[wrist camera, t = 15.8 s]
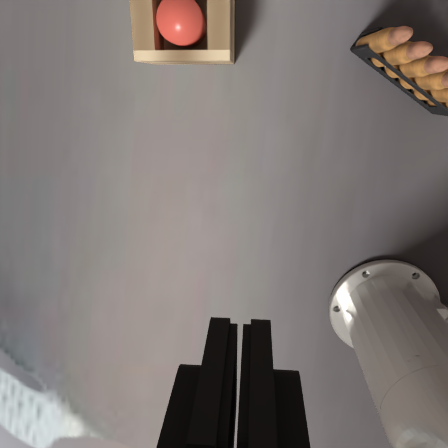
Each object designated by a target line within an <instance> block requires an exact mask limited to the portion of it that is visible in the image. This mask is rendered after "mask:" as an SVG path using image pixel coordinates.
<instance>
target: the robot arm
mask: <svg viewBox="0 0 448 448" xmlns="http://www.w3.org/2000/svg"><path fill="white" fill-rule="evenodd" d="M364 271H365V272H364ZM413 273H414V274H413ZM329 317H330V320H331V324H332V326H333V328H334V331H335V332H336V333H337V335H338V336H339V338H340V339H342V340H343V341H344V342H345V343H346V344H348V345H349V346H351V347H352V348H354V349H355V352H356V354H357V357H358V360H359V363H360V365H361V368H362V371H363V374H364V376H365V379H366V382H367V385H368V387H369V390H370V393H371V396H372V398H373V401H374V404H375V407H376V409H377V412H378V415H379V418H380V420H381V423H382V426H383V428H384V431H385V434H386V436H387V438H388V441H389V443H390V445H391V446H392V448H448V323H447V322H446V321H445V320H446V319H447V318H448V307H446V306H445V305H444V304H442V303H441V302H440V296H439V292H438V290H437V288H436V286H435V284H434V283H433V281H432V280H431V279H430V278H429V277H428V276H427V275H426V274H425V273H424V272H423V271H422V270H421V269H419V268H418V267H416V266H414V265H412V264H409V263H407V262H403V261H398V260H377V261H372V262H369V263H365V264H363V265H361V266H359V267H356V268H354V269H353V270H351V271H350V272H349V273H347V274H346V275H345V276H344V277H343V278H342V279H341V280H340V281H339V282H338V283H337V285H336V286H335V288H334V290H333V292H332V294H331V297H330V301H329ZM236 397H237V324H231V323H230V318H214V317H211V319H210V324H209V329H208V334H207V339H206V344H205V349H204V355H203V360H202V365H186V364H180V366H179V368H178V371H177V374H176V378H175V382H174V385H173V389H172V393H171V396H170V400H169V404H168V407H167V411H166V415H165V418H164V422H163V426H162V429H161V433H160V437H159V440H158V444H157V448H234V434H235V419H236ZM237 448H310V442H309V435H308V428H307V421H306V414H305V408H304V401H303V394H302V387H301V380H300V374H299V371H293V370H275V369H273V356H272V339H271V322H270V320H258V319H251V324H243V340H242V359H241V377H240V395H239V413H238V431H237Z"/></svg>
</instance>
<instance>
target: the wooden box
mask: <svg viewBox="0 0 448 448" xmlns="http://www.w3.org/2000/svg"><path fill="white" fill-rule="evenodd" d="M161 1H162V0H130V12H131V25H132V38H133V50H134V61H137V62H143V63H150V64H234V52H235V0H195V2H196V3H197V4H198V6H199V7H200V8H201V9H202V11H203V12H204V14H205V16H206V19H207V32H206V35H205V37H204V39H203V40H202V42H201V43H200V44H198V45H197V46H195V47H192V48H184V47H180V46H178V45H176V44H174V43H171V42H170V41H168V40H166V39H165V38H164V37H163V36H162V34H161V33H160V31H159V29H158V26H157V21H156V14H157V9H158V7H159V5H160V3H161Z"/></svg>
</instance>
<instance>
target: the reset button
mask: <svg viewBox="0 0 448 448" xmlns="http://www.w3.org/2000/svg"><path fill="white" fill-rule="evenodd" d="M156 21H157V26H158V29H159V31H160V33H161V34H162V36H163V37H164V38H165V39H166V40H168V41H170V42H171V43H174V44H176V45H178V46H180V47H184V48H192V47H195V46H197V45H198V44H200V43H201V42H202V40H203V39H204V37H205V35H206V32H207V19H206V16H205V14H204V12H203V11H202V9H201V8H200V7H199V6H198V4H197V3H196V2H195V0H162V1H161V3H160V5H159V7H158V9H157V14H156Z"/></svg>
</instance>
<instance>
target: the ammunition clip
mask: <svg viewBox="0 0 448 448" xmlns="http://www.w3.org/2000/svg"><path fill="white" fill-rule="evenodd" d="M412 35H413V29H412V28H410V27H407V26H400V27H395V28H394V27H388V28H385V29H383V28H382V27H378V28H375V29H372V30H369V31H365V32H362V33H361V35H360V36H359V37H358V39H357V40H356V42H355V43H354V44H353V46H352V47H351V48H350V50H351V51H352V52H353V53H354V54H355V55H357V56H358V57H359V58H361V59H362V60H363V61H364V62H366V63H367V64H368V65H370V66H371V67H372V68H374V69H375V70H376V71H377V72H379V73H380V74H381V75H383V76H384V77H385V78H387V79H388V80H389V81H390V82H392V83H393V84H394V85H396V86H397V87H398V88H400V89H401V90H402V91H403V92H405V93H406V94H407V95H409V96H410V97H411V98H413V99H414V100H415V101H416V102H418V103H419V104H420V105H422V106H423V107H424V108H426V109H427V110H428V111H429V112H431V113H432V114H437V115H444V116H448V58H447V57H444V56H430V55H428V54H429V53H430V52H431V51H432V49H433V46H432V44H430V43H429V42H425V41H418V42H412V41H407V40H409V39H410V38H411V36H412Z"/></svg>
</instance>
